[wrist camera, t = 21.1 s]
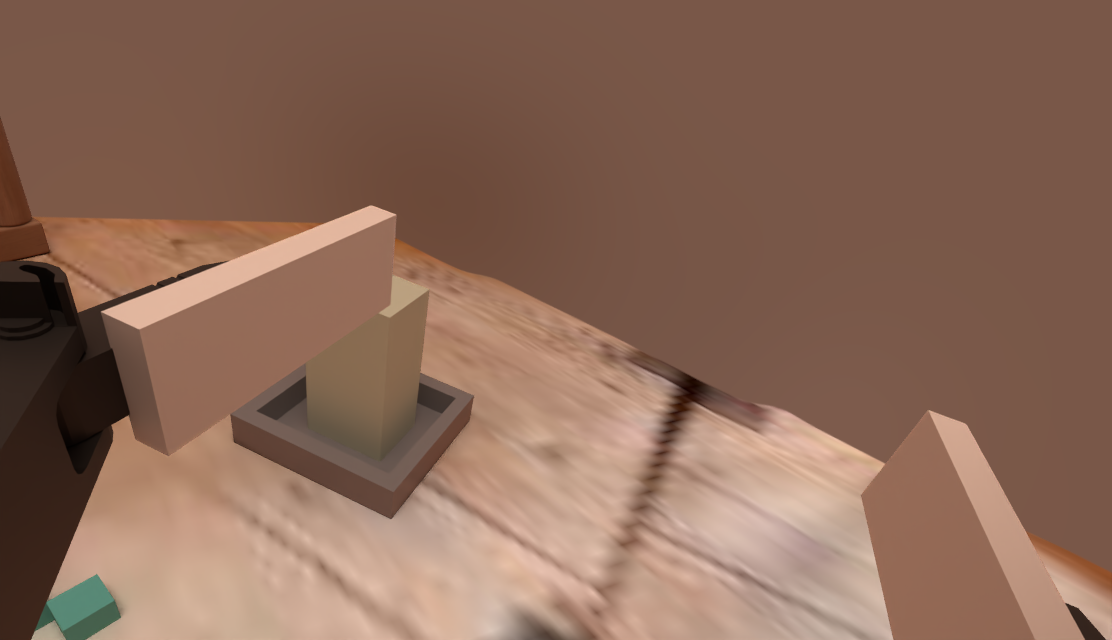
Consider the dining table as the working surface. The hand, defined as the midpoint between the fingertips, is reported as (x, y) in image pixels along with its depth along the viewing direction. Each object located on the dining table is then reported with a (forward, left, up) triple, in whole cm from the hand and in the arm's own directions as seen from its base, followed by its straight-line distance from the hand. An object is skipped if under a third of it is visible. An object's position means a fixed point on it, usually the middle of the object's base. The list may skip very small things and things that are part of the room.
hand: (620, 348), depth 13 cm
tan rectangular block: (+10, -24, -28) cm, 38 cm away
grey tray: (+10, -24, -28) cm, 38 cm away
